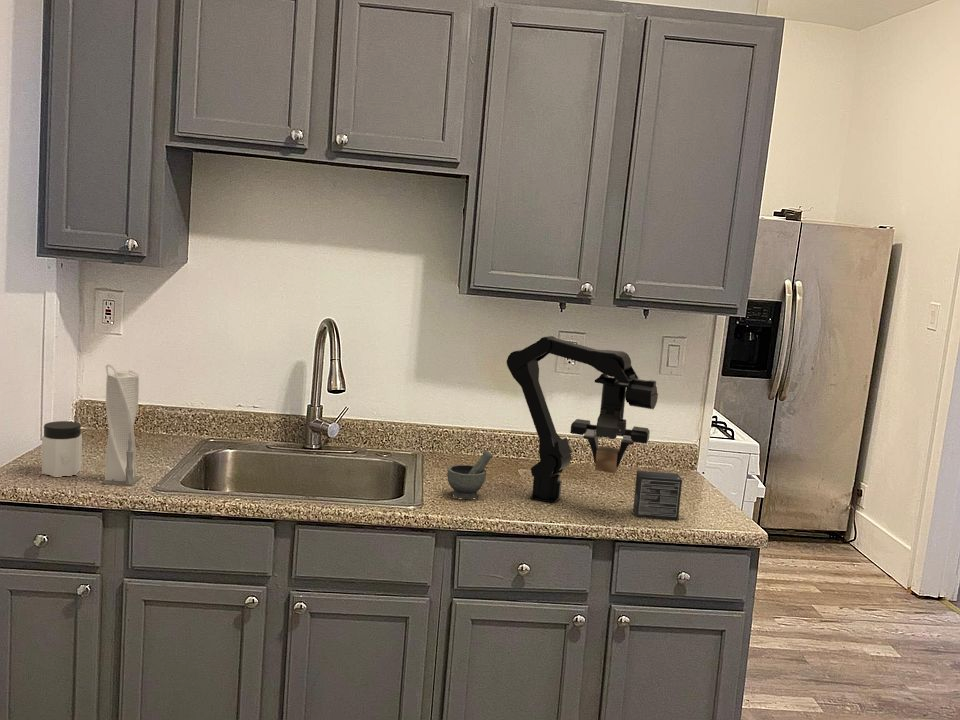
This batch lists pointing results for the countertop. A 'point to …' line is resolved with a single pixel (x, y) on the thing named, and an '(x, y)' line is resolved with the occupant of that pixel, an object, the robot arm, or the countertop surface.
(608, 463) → the block
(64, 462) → the jar
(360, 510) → the countertop surface
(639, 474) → the small box
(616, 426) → the robot arm
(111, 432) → the skyscraper
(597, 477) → the countertop surface
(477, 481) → the mortar and pestle
